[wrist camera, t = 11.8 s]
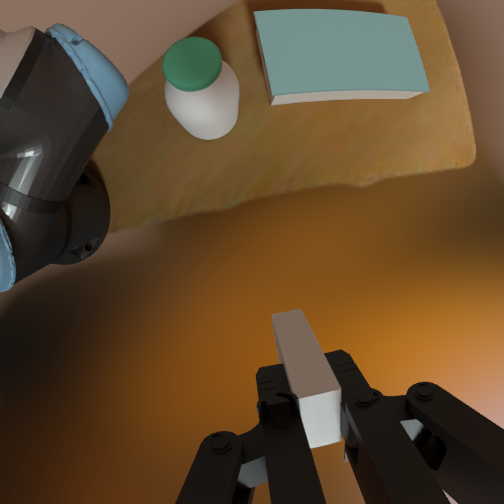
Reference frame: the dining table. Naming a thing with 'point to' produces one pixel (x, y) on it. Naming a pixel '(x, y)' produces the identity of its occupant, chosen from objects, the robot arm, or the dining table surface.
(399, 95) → the white shallow box
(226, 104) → the milk bottle
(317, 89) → the cover
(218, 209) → the dining table surface
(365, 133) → the dining table surface
